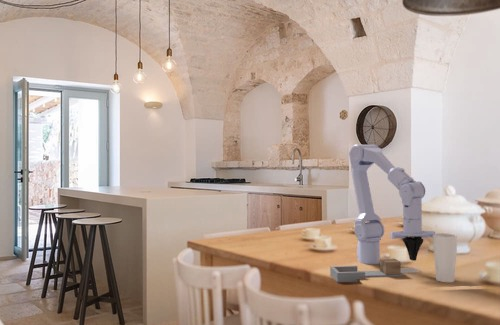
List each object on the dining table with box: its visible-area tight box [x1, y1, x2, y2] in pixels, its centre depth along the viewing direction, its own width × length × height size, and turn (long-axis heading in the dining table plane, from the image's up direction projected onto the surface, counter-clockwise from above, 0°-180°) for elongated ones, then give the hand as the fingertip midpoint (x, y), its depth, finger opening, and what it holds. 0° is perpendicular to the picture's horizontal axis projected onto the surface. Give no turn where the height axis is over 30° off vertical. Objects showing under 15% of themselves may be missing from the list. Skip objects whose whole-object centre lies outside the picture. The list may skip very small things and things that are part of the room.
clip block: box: [379, 258, 402, 275], centre depth 155 cm, size 5×5×4 cm
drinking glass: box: [432, 232, 458, 283], centre depth 147 cm, size 7×7×15 cm
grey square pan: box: [329, 265, 404, 283], centre depth 155 cm, size 9×22×3 cm, turn 95°
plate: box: [401, 266, 421, 274], centre depth 161 cm, size 7×7×1 cm
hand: (412, 259), depth 156 cm, fingers closed
